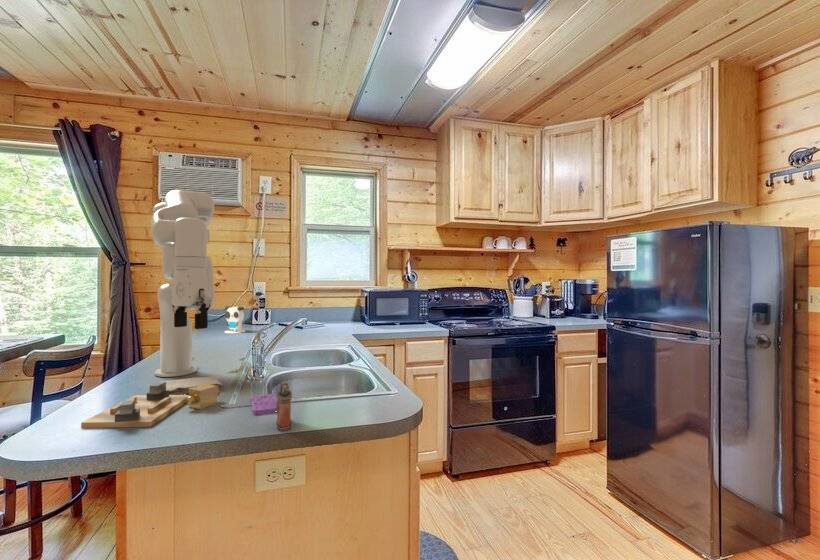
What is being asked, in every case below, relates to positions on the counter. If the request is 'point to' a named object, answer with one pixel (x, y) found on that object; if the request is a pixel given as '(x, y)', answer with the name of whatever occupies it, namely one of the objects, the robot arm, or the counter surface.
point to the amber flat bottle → (283, 408)
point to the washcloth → (190, 384)
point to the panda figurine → (234, 319)
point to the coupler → (202, 396)
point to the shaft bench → (143, 412)
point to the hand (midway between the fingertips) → (190, 327)
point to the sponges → (264, 403)
